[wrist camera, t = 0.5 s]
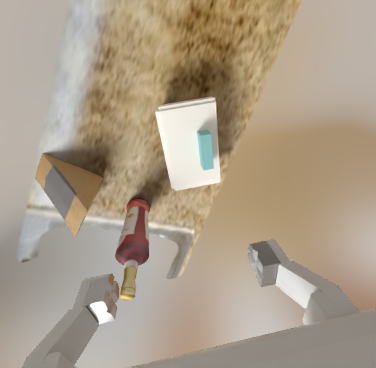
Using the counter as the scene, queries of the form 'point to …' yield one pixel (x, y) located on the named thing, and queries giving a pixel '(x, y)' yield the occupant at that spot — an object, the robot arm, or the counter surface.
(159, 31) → the counter surface
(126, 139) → the counter surface
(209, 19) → the counter surface
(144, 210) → the liquor
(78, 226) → the sandwich container
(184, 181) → the lid
